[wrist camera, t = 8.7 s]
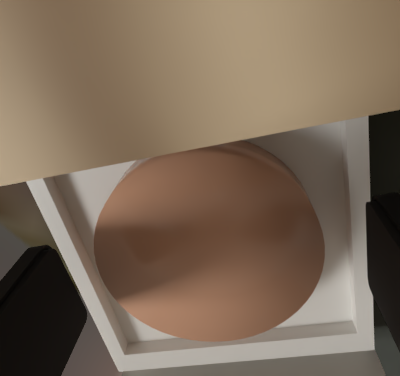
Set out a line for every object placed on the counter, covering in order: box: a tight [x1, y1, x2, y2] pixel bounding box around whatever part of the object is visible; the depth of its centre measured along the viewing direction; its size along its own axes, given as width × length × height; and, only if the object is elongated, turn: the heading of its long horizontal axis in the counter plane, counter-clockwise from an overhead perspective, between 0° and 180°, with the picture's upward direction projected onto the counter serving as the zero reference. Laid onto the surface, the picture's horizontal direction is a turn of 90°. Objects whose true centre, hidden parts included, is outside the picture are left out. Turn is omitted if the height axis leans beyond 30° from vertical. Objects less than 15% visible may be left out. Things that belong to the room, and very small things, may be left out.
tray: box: [26, 116, 386, 376], centre depth 12 cm, size 11×14×4 cm
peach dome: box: [94, 140, 325, 342], centre depth 12 cm, size 7×7×2 cm
